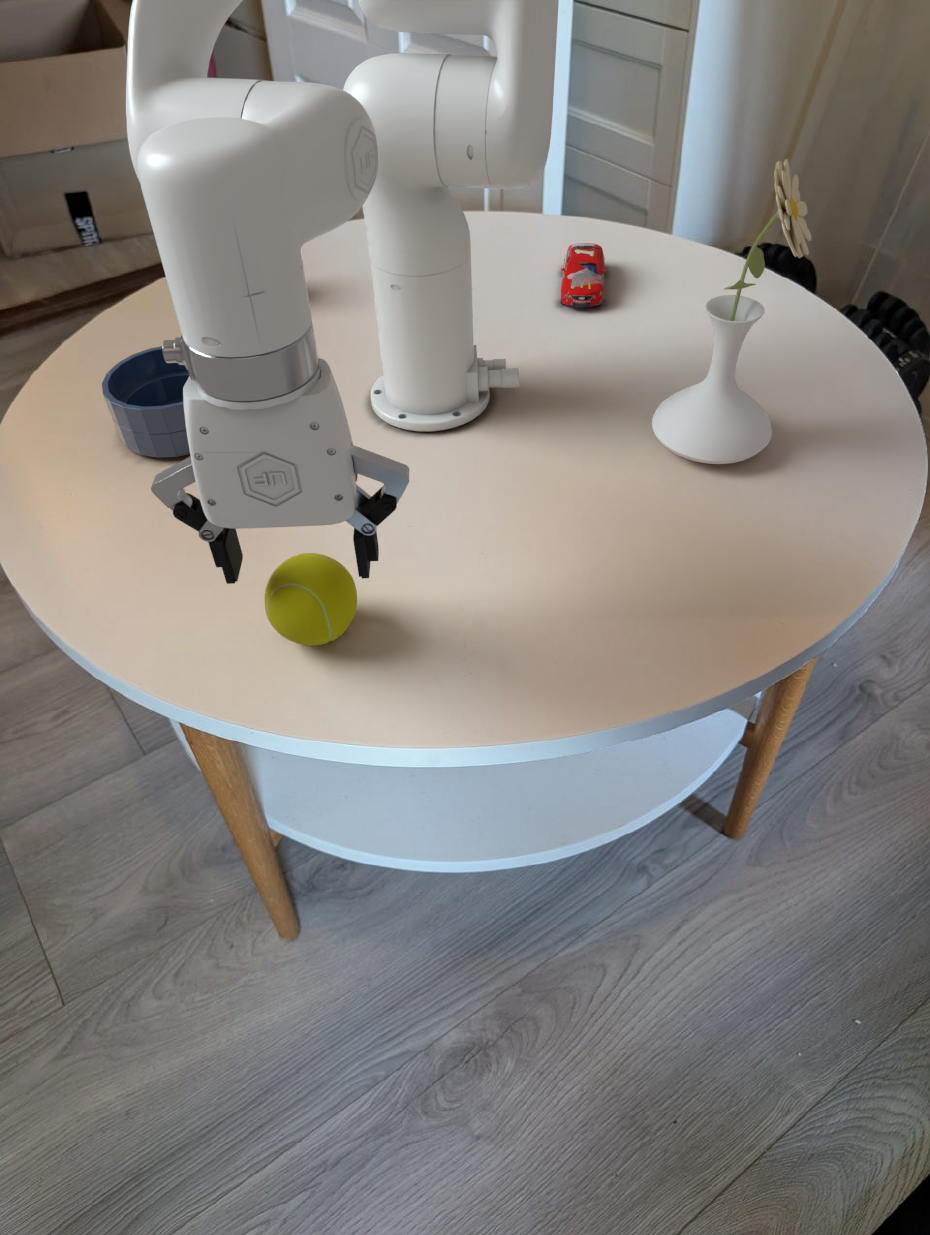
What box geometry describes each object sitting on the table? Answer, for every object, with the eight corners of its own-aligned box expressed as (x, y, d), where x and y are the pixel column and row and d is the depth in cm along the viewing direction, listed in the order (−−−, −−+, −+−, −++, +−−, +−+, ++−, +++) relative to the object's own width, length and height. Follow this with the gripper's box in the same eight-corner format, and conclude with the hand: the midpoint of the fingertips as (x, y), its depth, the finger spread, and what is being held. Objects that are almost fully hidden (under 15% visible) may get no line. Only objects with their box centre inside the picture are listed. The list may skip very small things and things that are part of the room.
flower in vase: (728, 491, 80) (793, 213, 62) (626, 444, 86) (659, 177, 68) (797, 428, 87) (874, 160, 69) (698, 389, 92) (745, 131, 74)
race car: (602, 314, 105) (605, 282, 102) (557, 312, 105) (558, 280, 102) (606, 264, 113) (609, 233, 111) (565, 263, 114) (566, 232, 111)
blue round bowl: (248, 392, 95) (235, 341, 91) (230, 458, 87) (215, 406, 82) (136, 397, 95) (119, 346, 91) (108, 464, 87) (87, 412, 82)
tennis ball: (343, 670, 67) (329, 606, 62) (260, 654, 69) (240, 590, 64) (374, 607, 72) (364, 543, 67) (295, 593, 73) (279, 529, 68)
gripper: (93, 394, 50) (173, 608, 62) (396, 382, 50) (416, 599, 62) (125, 332, 55) (193, 540, 67) (399, 321, 55) (418, 531, 67)
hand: (300, 568), depth 65 cm, fingers open, 9 cm apart
